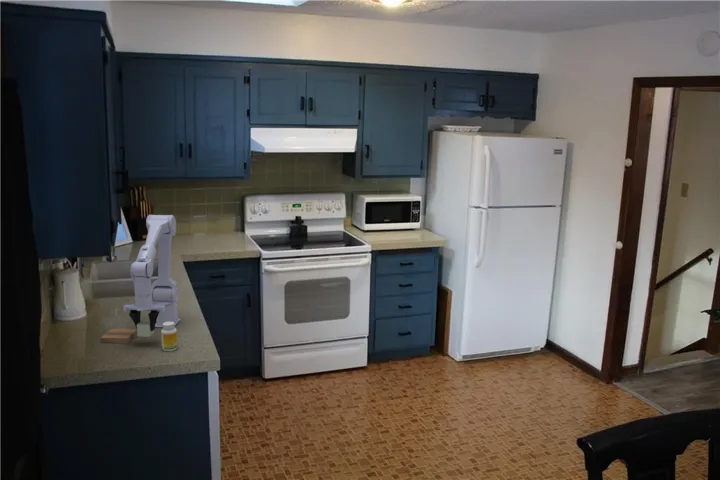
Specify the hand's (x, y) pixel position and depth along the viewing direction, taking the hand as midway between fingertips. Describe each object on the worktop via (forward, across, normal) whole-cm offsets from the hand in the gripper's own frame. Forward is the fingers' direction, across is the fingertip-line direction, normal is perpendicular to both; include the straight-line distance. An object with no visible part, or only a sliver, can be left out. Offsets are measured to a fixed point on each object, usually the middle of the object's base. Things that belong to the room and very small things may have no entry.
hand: (145, 330), depth 226 cm
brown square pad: (+6, -12, +5) cm, 14 cm away
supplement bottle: (+6, +10, -4) cm, 12 cm away
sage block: (+2, 0, 0) cm, 2 cm away
